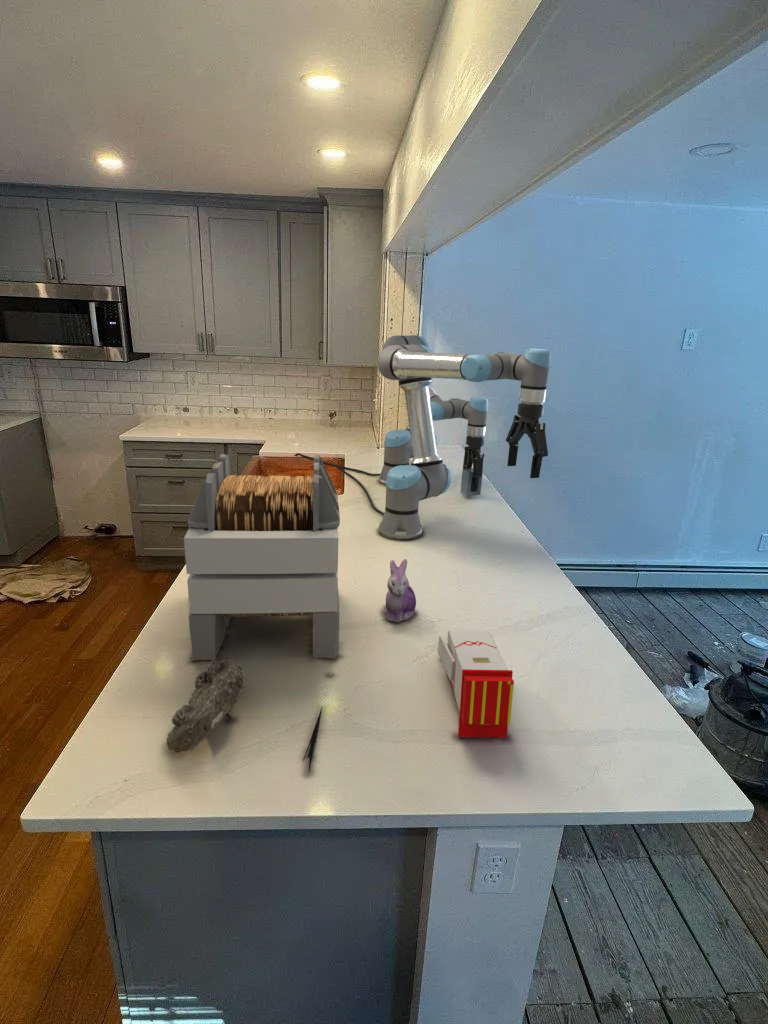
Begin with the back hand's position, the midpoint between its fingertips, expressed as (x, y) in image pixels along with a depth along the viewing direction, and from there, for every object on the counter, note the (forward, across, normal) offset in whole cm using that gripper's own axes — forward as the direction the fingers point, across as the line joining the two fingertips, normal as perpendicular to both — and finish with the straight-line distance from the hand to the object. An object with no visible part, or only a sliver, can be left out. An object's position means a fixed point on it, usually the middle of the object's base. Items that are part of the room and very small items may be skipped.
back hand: (470, 488), depth 242 cm
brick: (+2, 0, 0) cm, 2 cm away
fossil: (+4, -115, +110) cm, 159 cm away
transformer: (+4, -83, +95) cm, 126 cm away
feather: (+4, -121, +91) cm, 151 cm away
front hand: (-25, -60, +14) cm, 67 cm away
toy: (+4, -120, +59) cm, 134 cm away
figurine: (+4, -87, +62) cm, 107 cm away
